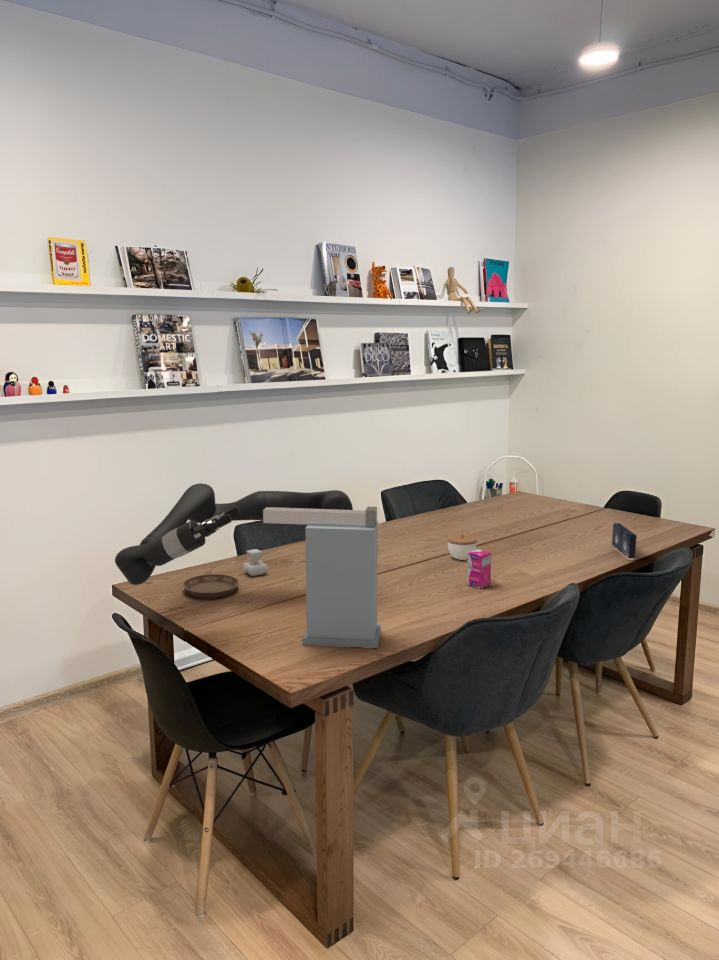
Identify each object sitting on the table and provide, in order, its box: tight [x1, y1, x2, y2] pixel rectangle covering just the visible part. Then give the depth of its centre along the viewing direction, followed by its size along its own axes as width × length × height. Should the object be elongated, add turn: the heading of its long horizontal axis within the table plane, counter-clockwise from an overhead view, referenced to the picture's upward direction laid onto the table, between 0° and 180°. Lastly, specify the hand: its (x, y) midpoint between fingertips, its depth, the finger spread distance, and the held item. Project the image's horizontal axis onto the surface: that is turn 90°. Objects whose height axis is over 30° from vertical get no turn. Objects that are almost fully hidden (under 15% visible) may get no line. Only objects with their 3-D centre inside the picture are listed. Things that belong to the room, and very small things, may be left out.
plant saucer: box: [182, 573, 240, 599], centre depth 240 cm, size 18×18×3 cm
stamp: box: [242, 548, 269, 577], centre depth 256 cm, size 9×7×8 cm
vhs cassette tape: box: [611, 522, 638, 558], centre depth 282 cm, size 18×3×10 cm, turn 179°
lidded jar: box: [446, 533, 478, 559], centre depth 276 cm, size 11×11×9 cm
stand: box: [301, 520, 382, 649], centre depth 200 cm, size 20×12×32 cm, turn 84°
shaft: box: [262, 506, 378, 527], centre depth 197 cm, size 30×4×4 cm, turn 82°
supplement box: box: [466, 548, 492, 588], centre depth 245 cm, size 6×6×12 cm
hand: (234, 513), depth 199 cm, fingers open, 8 cm apart
